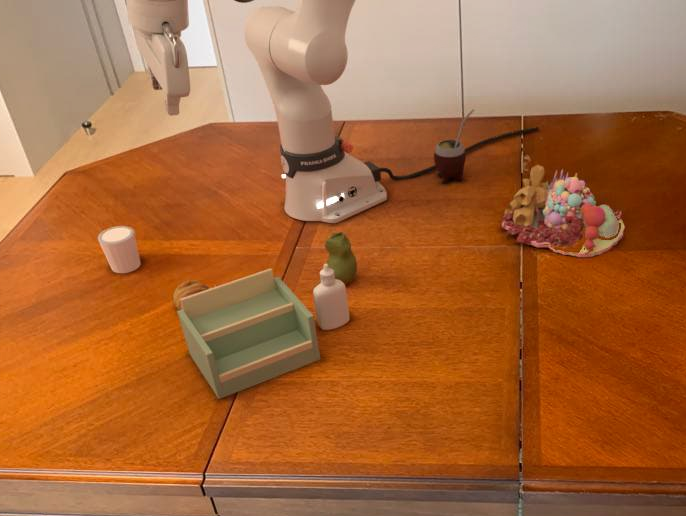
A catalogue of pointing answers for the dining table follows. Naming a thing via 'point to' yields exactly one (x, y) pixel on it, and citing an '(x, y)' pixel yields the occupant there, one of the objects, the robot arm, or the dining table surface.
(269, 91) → the robot arm
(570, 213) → the pastel sphere sculpture
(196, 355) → the spice rack
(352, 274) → the pear
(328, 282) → the eye dropper bottle
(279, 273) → the dining table surface
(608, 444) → the dining table surface
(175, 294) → the pastry
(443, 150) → the mate gourd
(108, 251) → the white short cylinder
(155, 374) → the dining table surface
